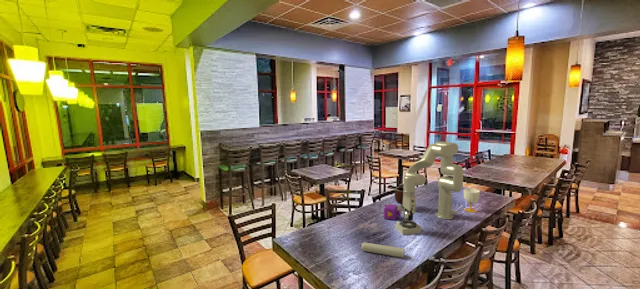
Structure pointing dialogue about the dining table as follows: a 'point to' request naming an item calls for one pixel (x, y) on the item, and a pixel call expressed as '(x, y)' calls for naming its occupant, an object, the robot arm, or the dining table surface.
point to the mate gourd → (399, 197)
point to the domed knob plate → (408, 227)
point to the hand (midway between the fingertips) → (408, 218)
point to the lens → (407, 214)
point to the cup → (471, 198)
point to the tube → (383, 249)
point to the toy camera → (391, 212)
